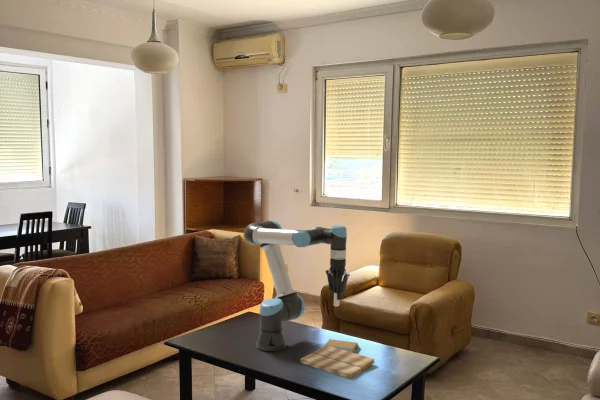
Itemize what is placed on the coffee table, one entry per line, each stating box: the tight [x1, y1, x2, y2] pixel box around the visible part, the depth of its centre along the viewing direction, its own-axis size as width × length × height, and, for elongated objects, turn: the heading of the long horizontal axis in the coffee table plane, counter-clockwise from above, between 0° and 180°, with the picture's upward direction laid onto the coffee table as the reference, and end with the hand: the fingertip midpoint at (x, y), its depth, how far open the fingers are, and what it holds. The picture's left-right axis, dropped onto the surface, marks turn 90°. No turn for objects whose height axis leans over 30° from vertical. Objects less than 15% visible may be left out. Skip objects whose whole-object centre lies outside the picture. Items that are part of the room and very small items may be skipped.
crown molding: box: [323, 338, 359, 353], centre depth 264 cm, size 14×15×4 cm
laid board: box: [300, 352, 363, 380], centre depth 241 cm, size 28×9×2 cm, turn 51°
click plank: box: [312, 344, 375, 373], centre depth 249 cm, size 28×10×2 cm, turn 51°
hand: (336, 305), depth 255 cm, fingers closed
